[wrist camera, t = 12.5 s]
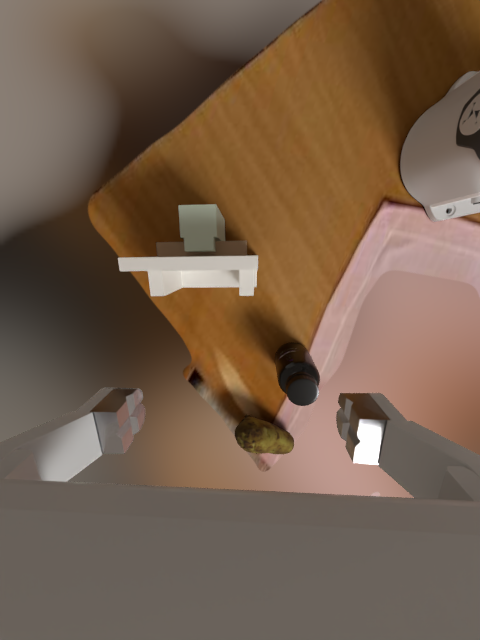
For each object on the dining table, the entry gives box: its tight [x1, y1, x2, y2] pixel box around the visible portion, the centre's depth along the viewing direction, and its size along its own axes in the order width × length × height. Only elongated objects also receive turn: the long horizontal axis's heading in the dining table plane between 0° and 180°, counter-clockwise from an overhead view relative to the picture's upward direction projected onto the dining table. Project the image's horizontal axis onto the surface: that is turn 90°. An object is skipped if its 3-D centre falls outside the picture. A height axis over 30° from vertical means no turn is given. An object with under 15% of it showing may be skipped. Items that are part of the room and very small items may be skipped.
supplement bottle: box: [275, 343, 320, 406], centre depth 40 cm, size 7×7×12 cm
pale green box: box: [178, 204, 225, 252], centre depth 35 cm, size 5×7×9 cm
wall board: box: [118, 241, 258, 296], centre depth 34 cm, size 16×8×16 cm, turn 91°
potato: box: [235, 415, 294, 454], centre depth 47 cm, size 8×13×8 cm, turn 40°
